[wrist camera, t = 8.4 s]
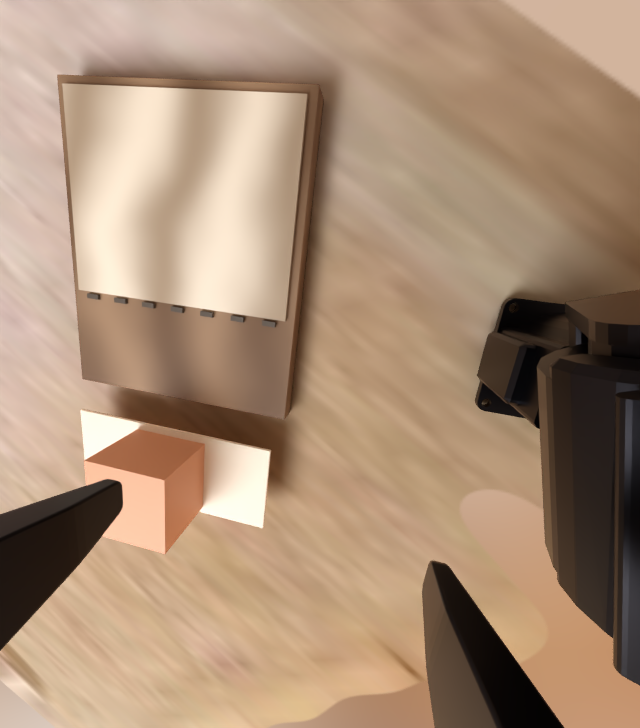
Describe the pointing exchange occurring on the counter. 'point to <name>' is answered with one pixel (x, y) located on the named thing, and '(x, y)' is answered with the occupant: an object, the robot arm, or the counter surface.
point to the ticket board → (190, 233)
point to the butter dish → (172, 477)
